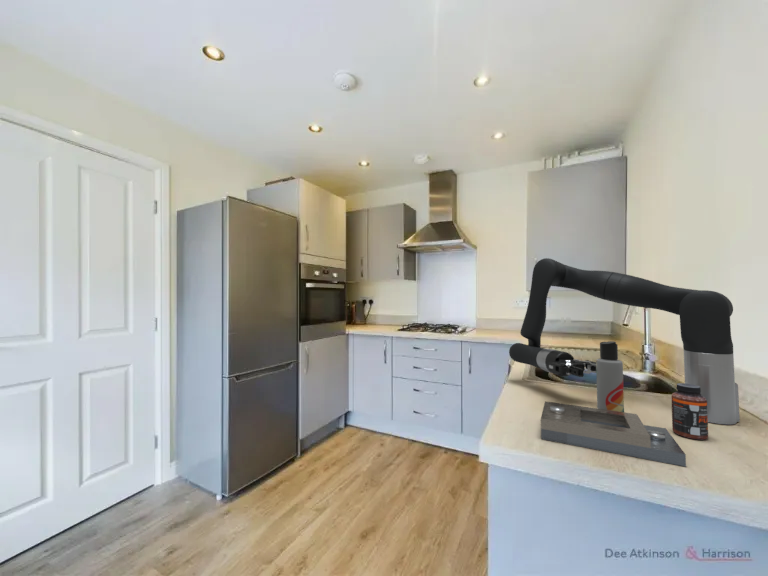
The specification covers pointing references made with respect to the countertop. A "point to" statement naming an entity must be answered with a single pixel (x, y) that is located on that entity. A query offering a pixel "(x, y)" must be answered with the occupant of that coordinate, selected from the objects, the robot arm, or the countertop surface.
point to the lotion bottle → (609, 378)
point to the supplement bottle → (689, 412)
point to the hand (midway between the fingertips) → (596, 372)
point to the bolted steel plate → (609, 432)
